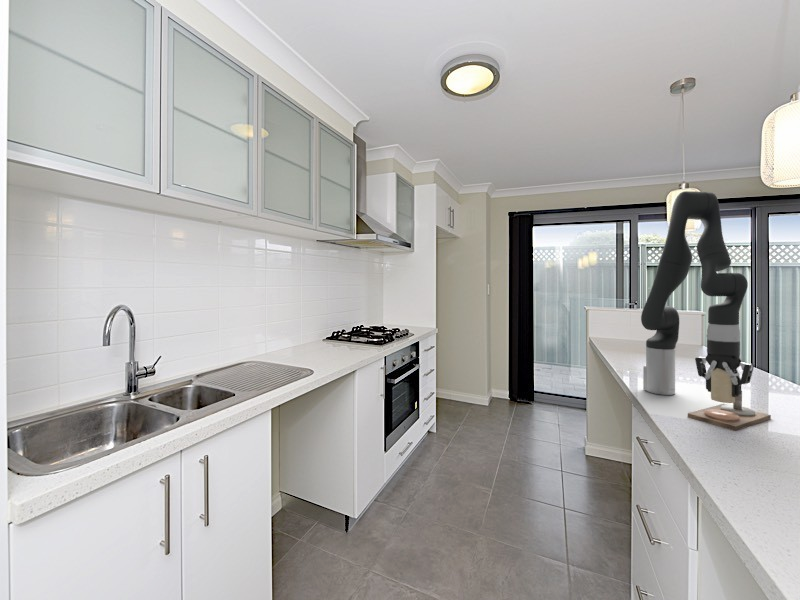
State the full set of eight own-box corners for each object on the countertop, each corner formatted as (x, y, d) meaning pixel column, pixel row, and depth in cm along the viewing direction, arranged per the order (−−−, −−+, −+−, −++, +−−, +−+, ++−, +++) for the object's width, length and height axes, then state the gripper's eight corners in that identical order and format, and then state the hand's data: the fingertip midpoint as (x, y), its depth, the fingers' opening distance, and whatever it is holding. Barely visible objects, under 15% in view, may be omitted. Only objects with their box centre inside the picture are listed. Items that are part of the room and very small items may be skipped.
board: (687, 416, 114) (687, 391, 114) (723, 407, 122) (723, 383, 122) (735, 430, 103) (735, 402, 103) (770, 418, 111) (771, 393, 111)
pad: (698, 414, 113) (698, 411, 113) (713, 410, 117) (713, 407, 116) (730, 422, 106) (730, 420, 106) (745, 418, 109) (745, 415, 109)
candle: (718, 402, 109) (718, 369, 108) (706, 397, 114) (706, 365, 114) (739, 403, 108) (740, 370, 107) (727, 398, 113) (727, 366, 113)
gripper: (760, 340, 105) (760, 398, 106) (702, 335, 118) (702, 386, 119) (747, 342, 102) (746, 402, 103) (689, 337, 115) (688, 389, 116)
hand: (722, 393), depth 111 cm, fingers closed on candle, 5 cm apart
